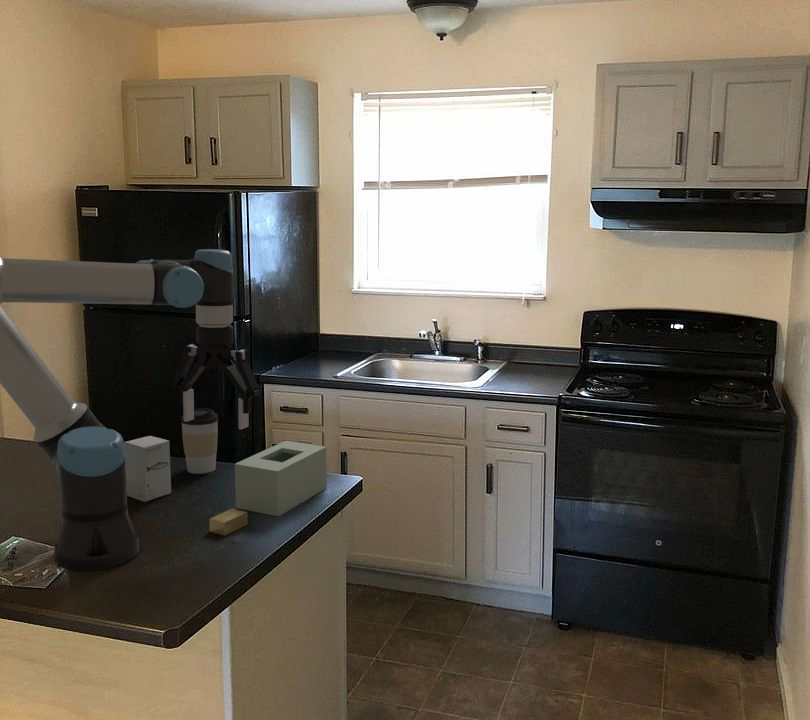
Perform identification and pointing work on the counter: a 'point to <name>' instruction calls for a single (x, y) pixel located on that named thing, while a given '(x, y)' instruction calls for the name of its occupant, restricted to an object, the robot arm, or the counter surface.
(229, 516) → the tan wooden block
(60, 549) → the robot arm
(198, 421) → the coffee cup
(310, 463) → the grey box with slot
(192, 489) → the counter surface
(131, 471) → the supplement box
